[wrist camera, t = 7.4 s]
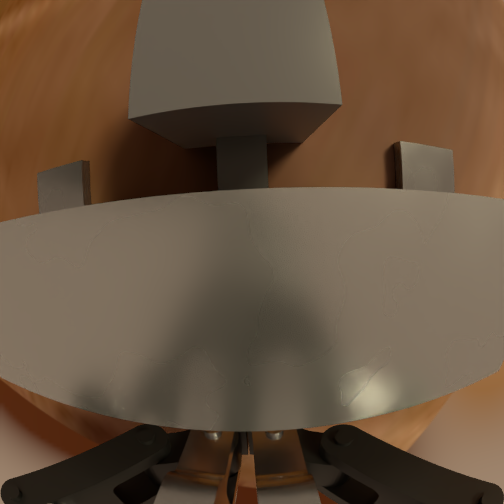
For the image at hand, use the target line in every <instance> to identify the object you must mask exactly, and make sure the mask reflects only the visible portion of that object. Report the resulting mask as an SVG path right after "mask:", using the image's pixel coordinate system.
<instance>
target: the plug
mask: <svg viewBox="0 0 504 504" xmlns="http://www.w3.org/2000/svg"><path fill="white" fill-rule="evenodd" d="M341 105H342V99H341V90H340V83H339V76H338V69H337V62H336V56H335V51H334V45H333V40H332V35H331V30H330V25H329V20H328V16H327V11H326V7H325V3H324V0H142V4H141V9H140V14H139V19H138V25H137V31H136V37H135V44H134V51H133V60H132V69H131V79H130V92H129V111H128V119H130V120H132V121H133V122H135V123H137V124H139V125H141V126H143V127H145V128H147V129H149V130H151V131H153V132H155V133H156V134H158V135H160V136H162V137H164V138H166V139H168V140H170V141H171V142H173V143H175V144H177V145H179V146H180V147H182V148H184V149H189V148H199V147H210V146H216V152H217V177H218V191H223V190H240V189H262V188H268V165H267V144H266V143H303V142H304V141H305V140H306V139H307V138H308V137H309V136H310V135H311V134H312V133H313V132H314V131H315V130H316V129H317V128H318V127H319V126H320V125H321V124H322V123H324V122H325V121H326V120H327V119H328V118H329V117H330V116H331V115H332V114H333V113H334V112H335V111H336V110H337V109H338V108H339V107H340V106H341Z"/></svg>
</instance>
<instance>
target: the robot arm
mask: <svg viewBox="0 0 504 504" xmlns="http://www.w3.org/2000/svg"><path fill="white" fill-rule="evenodd" d="M248 445H249V450H250V454H254V463H255V475H256V486H257V497H258V504H321V502H320V499H319V495H318V491H320V492H321V493H323V494H324V495H326V496H327V497H329V498H330V499H332V500H333V501H335V502H336V503H338V504H503V500H504V494H503V492H502V489H501V488H500V487H499V486H498V485H496V484H493V483H489V482H486V481H482V480H478V479H476V478H472V477H469V476H466V475H463V474H460V473H457V472H454V471H451V470H449V469H446V468H444V467H441V466H438V465H436V464H433V463H431V462H428V461H426V460H423V459H421V458H419V457H416V456H414V455H412V454H409V453H407V452H405V451H403V450H401V449H399V448H396V447H394V446H392V445H390V444H388V443H386V442H384V441H382V440H380V439H378V438H376V437H374V436H372V435H370V434H368V433H366V432H364V431H362V430H360V429H359V428H357V427H354V426H351V425H344V424H343V425H336V426H333V427H331V428H329V429H327V430H326V431H325V432H324V433H320V432H312V431H308V430H305V429H302V428H301V429H290V430H276V431H208V430H194V429H189V430H187V431H183V432H177V433H169V434H166V432H165V431H164V430H163V429H162V428H161V427H159V426H156V425H151V424H144V425H140V426H137V427H135V428H133V429H131V430H129V431H127V432H125V433H123V434H122V435H120V436H118V437H115V438H113V439H111V440H109V441H107V442H105V443H103V444H101V445H99V446H97V447H94V448H92V449H90V450H88V451H86V452H83V453H81V454H79V455H76V456H74V457H72V458H69V459H67V460H64V461H62V462H59V463H56V464H54V465H51V466H49V467H46V468H43V469H40V470H37V471H35V472H31V473H29V474H25V475H22V476H19V477H16V478H13V479H9V480H7V481H6V482H5V483H4V484H3V485H2V488H1V498H2V500H3V502H4V503H5V504H235V500H236V495H237V489H238V483H239V477H240V467H241V459H242V454H243V455H248ZM317 490H318V491H317Z"/></svg>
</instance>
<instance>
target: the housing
mask: <svg viewBox="0 0 504 504" xmlns="http://www.w3.org/2000/svg"><path fill="white" fill-rule="evenodd" d="M394 154H395V172H396V189H386V188H353V187H296V188H262V189H240V190H223V191H209V192H196V193H184V194H173V195H163V196H154V197H145V198H136V199H128V200H121V201H113V202H106V203H99V204H93V205H91V195H90V174H89V161H83V160H81V161H77V162H74V163H70V164H66V165H63V166H60V167H56V168H53V169H50V170H46V171H43V172H40V173H37V179H38V201H39V213H40V214H36V215H32V216H27V217H22V218H18V219H13V220H9V221H5V222H0V376H1V378H3V379H5V380H7V381H9V382H11V383H14V384H16V385H18V386H20V387H22V388H25V389H27V390H29V391H32V392H34V393H37V394H39V395H42V396H44V397H47V398H50V399H53V400H55V401H58V402H61V403H64V404H67V405H70V406H73V407H77V408H80V409H83V410H87V411H90V412H94V413H98V414H102V415H106V416H110V417H115V418H119V419H124V420H129V421H134V422H139V423H145V424H151V425H158V426H165V427H173V428H183V429H194V430H208V431H276V430H290V429H301V428H311V427H319V426H326V425H333V424H339V423H345V422H351V421H356V420H361V419H366V418H370V417H375V416H379V415H383V414H387V413H391V412H395V411H398V410H402V409H405V408H409V407H412V406H415V405H418V404H421V403H424V402H427V401H430V400H433V399H436V398H439V397H441V396H444V395H447V394H449V393H452V392H454V391H457V390H459V389H461V388H464V387H466V386H468V385H470V384H473V383H475V382H477V381H479V380H481V379H483V378H486V377H488V376H489V375H491V374H494V373H495V372H497V371H499V369H500V367H501V365H502V362H503V360H504V199H499V198H492V197H484V196H476V195H467V194H457V193H454V165H453V151H452V150H450V149H445V148H439V147H434V146H428V145H422V144H416V143H409V142H402V141H400V142H396V143H394Z"/></svg>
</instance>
